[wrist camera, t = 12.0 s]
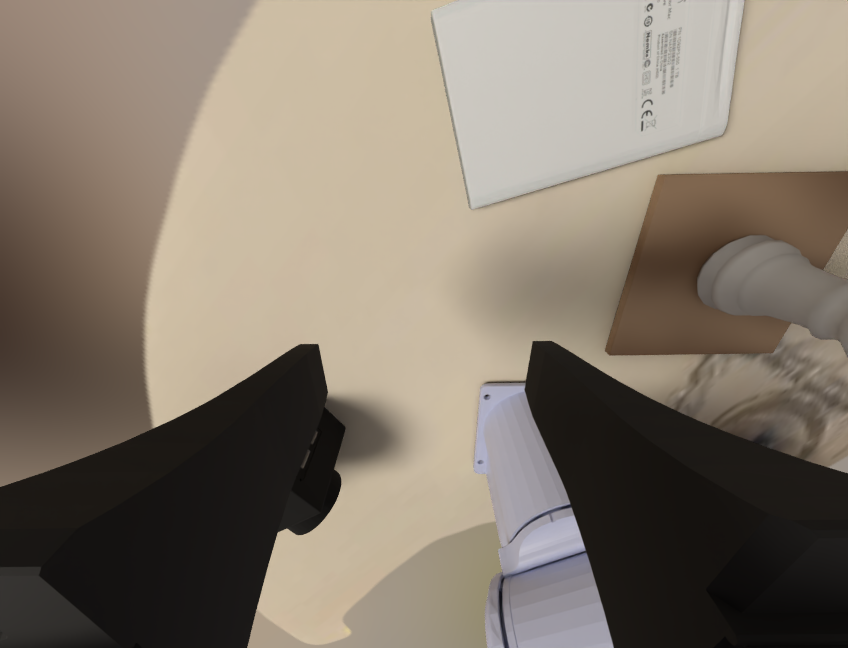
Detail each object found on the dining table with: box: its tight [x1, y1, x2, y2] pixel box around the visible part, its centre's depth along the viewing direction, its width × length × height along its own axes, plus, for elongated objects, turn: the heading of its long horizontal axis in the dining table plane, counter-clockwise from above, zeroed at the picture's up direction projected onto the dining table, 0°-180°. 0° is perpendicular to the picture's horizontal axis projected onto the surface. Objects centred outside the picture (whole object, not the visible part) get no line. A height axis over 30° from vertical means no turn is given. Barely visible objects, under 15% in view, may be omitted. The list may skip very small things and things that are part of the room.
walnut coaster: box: [605, 171, 848, 355], centre depth 18 cm, size 11×11×1 cm
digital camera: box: [278, 407, 345, 535], centre depth 22 cm, size 10×5×7 cm, turn 123°
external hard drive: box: [431, 0, 745, 210], centre depth 14 cm, size 2×8×12 cm
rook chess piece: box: [697, 235, 848, 357], centre depth 15 cm, size 4×4×8 cm
